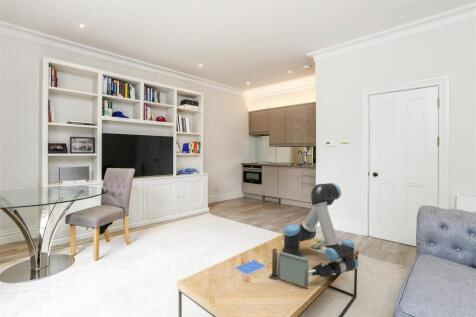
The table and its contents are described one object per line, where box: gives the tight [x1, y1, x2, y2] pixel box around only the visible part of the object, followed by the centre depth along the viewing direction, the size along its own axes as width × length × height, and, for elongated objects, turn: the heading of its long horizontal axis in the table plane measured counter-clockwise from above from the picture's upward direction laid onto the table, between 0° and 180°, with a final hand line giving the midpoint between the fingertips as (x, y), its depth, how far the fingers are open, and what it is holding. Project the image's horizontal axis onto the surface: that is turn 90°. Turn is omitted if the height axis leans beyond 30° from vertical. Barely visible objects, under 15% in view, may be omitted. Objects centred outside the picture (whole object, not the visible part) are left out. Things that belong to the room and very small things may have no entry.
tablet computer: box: [234, 259, 267, 276], centre depth 165 cm, size 19×13×1 cm, turn 130°
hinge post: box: [268, 248, 280, 281], centre depth 152 cm, size 5×5×18 cm
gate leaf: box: [277, 251, 310, 288], centre depth 145 cm, size 20×3×16 cm, turn 55°
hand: (307, 274), depth 143 cm, fingers closed
